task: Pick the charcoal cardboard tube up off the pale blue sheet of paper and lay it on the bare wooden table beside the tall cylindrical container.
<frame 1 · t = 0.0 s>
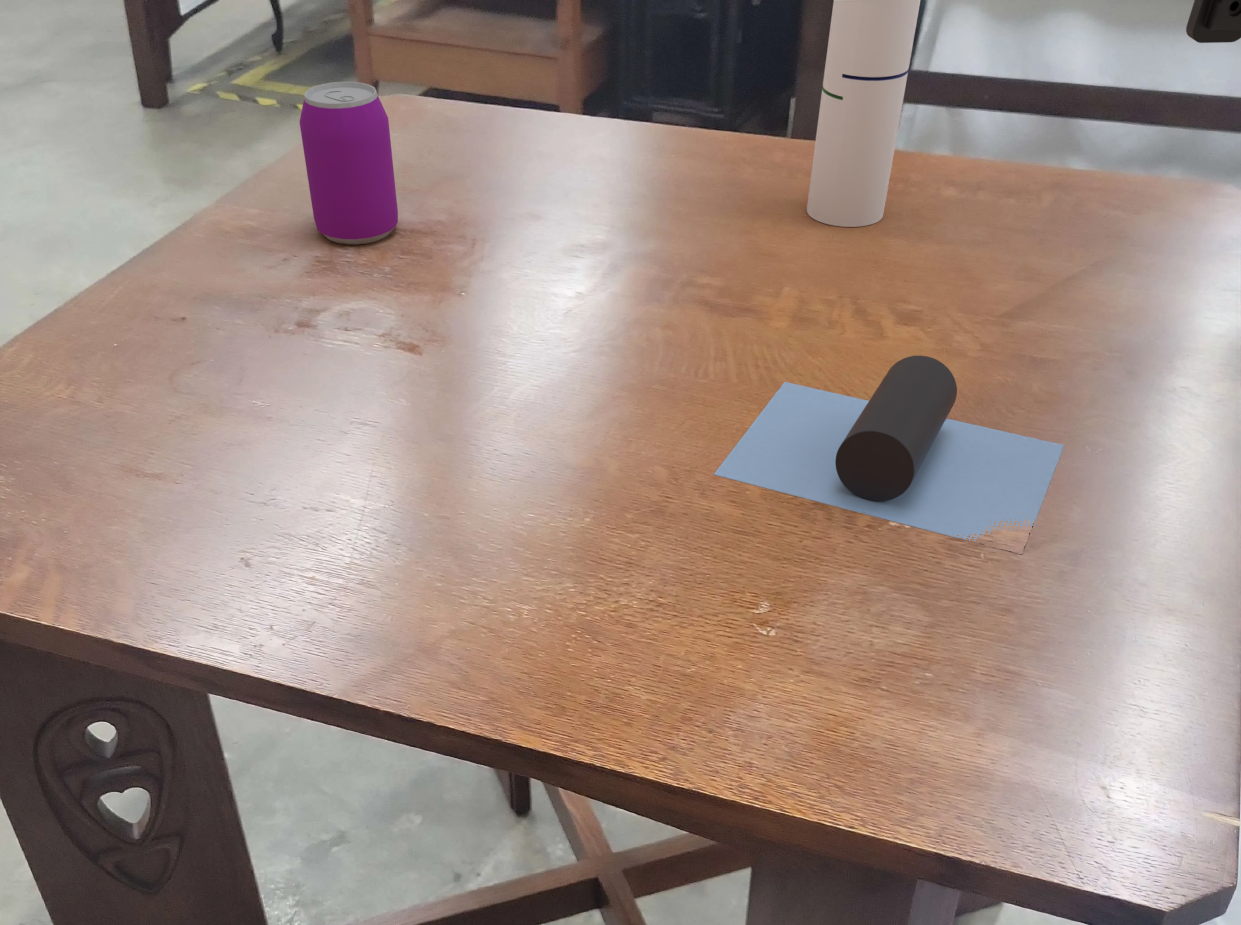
hand: (1170, 14, 52), 29 cm above the table, tool pointing down, fingers open, 8 cm apart
cylindrical container: (844, 214, 112), on the table
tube: (891, 459, 79), resting on paper
beverage can: (358, 233, 110), on the table
paper: (891, 461, 80), on the table
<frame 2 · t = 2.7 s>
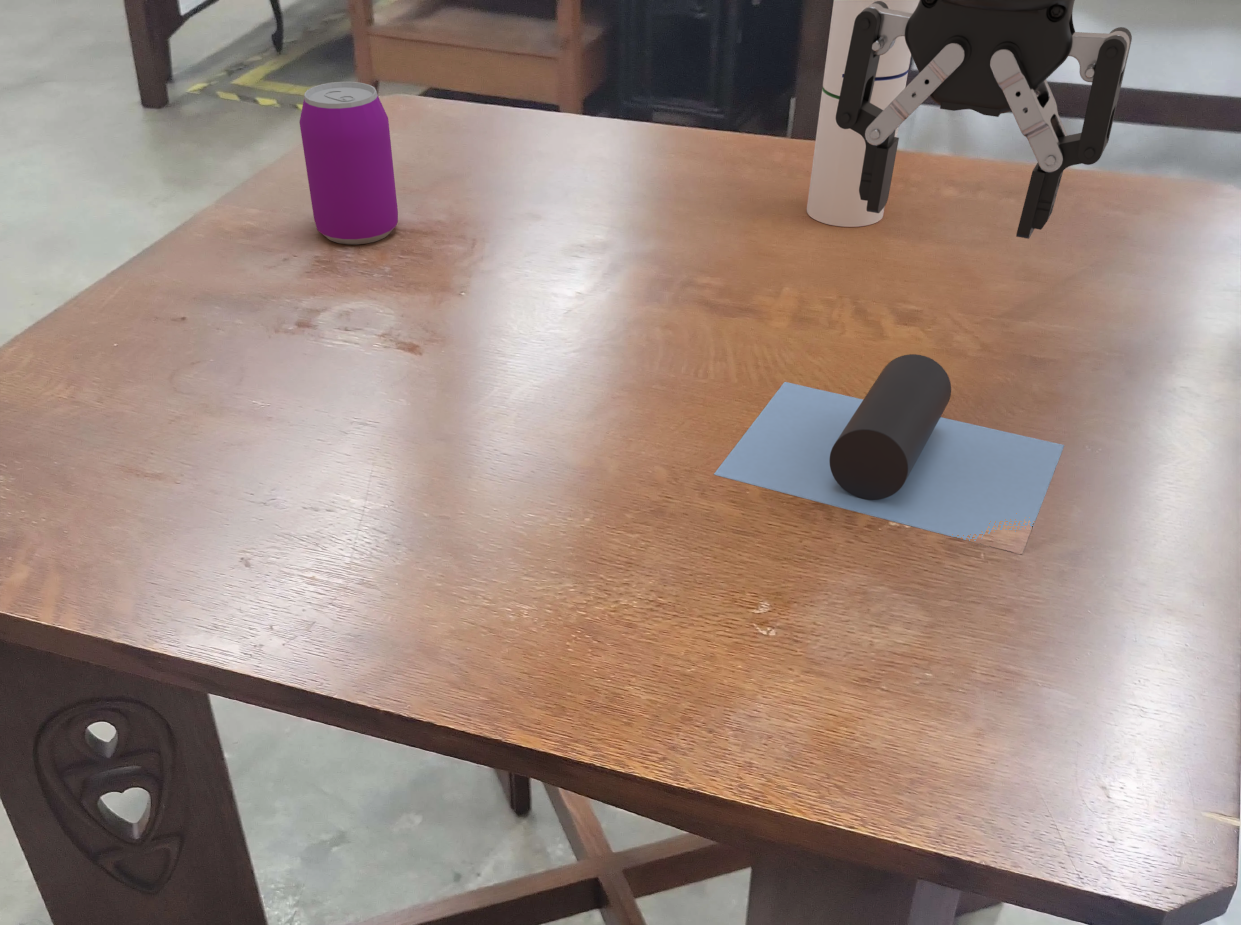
hand: (948, 220, 68), 16 cm above the table, tool pointing down, fingers open, 8 cm apart
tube: (891, 458, 79), resting on paper, tilted 9°
everything else where it was.
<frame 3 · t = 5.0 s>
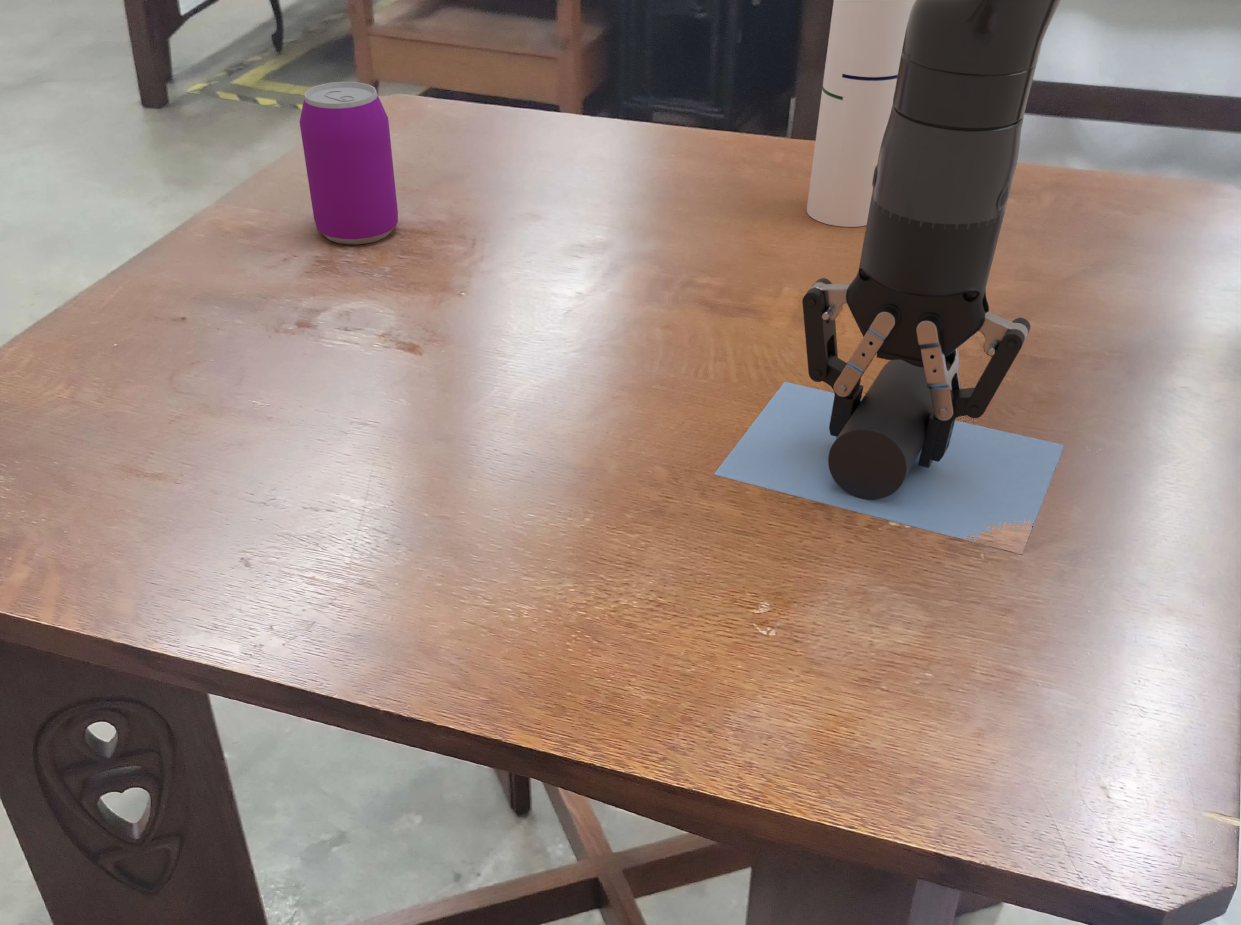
hand: (884, 449, 79), 1 cm above the table, tool pointing down, fingers closed on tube, 5 cm apart
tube: (892, 458, 79), resting on paper, tilted 12°, touching gripper
everything else where it was.
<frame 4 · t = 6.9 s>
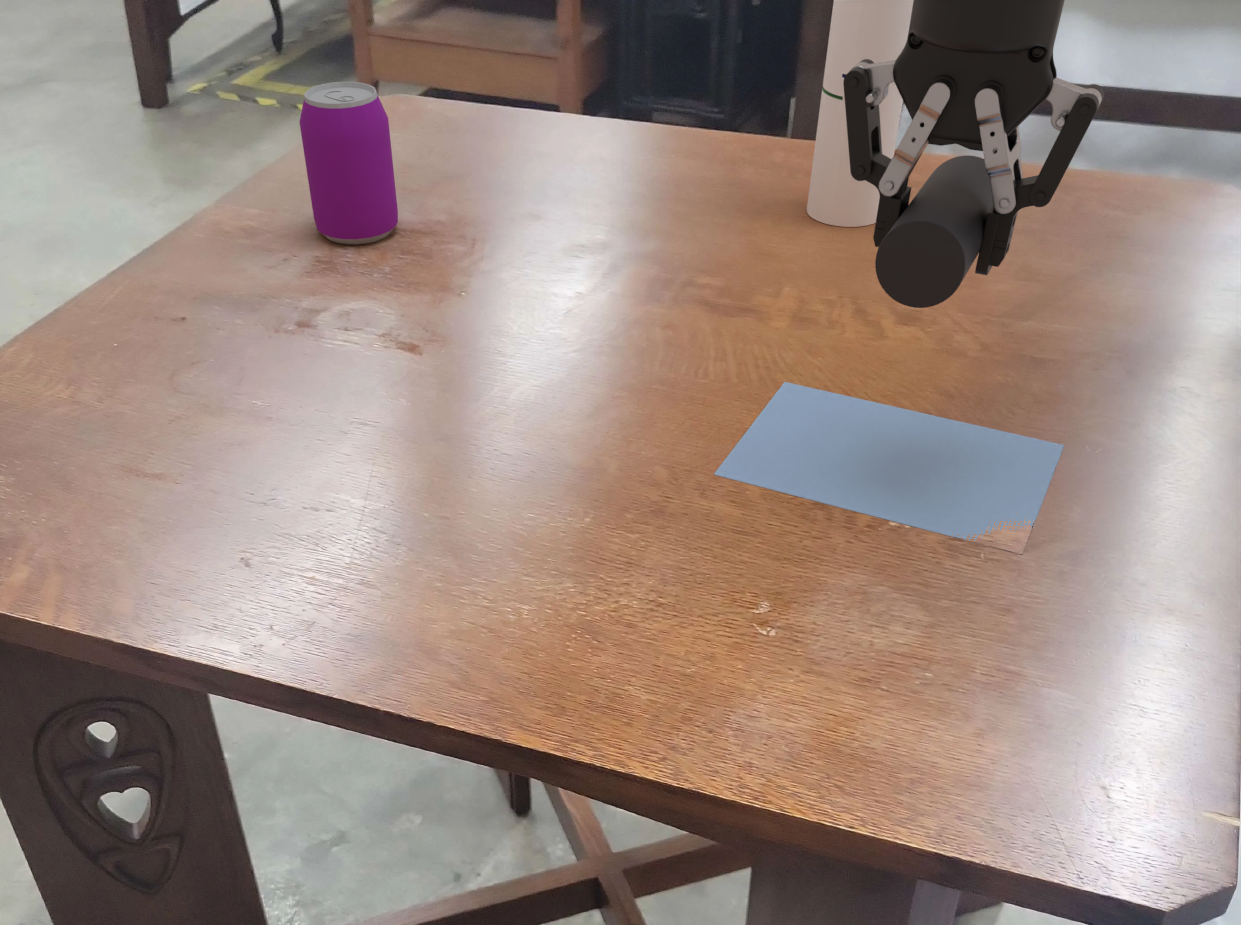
hand: (936, 260, 71), 14 cm above the table, tool pointing down, fingers closed on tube, 5 cm apart
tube: (944, 271, 71), point 13 cm above the table, tilted 13°, touching gripper
everything else where it was.
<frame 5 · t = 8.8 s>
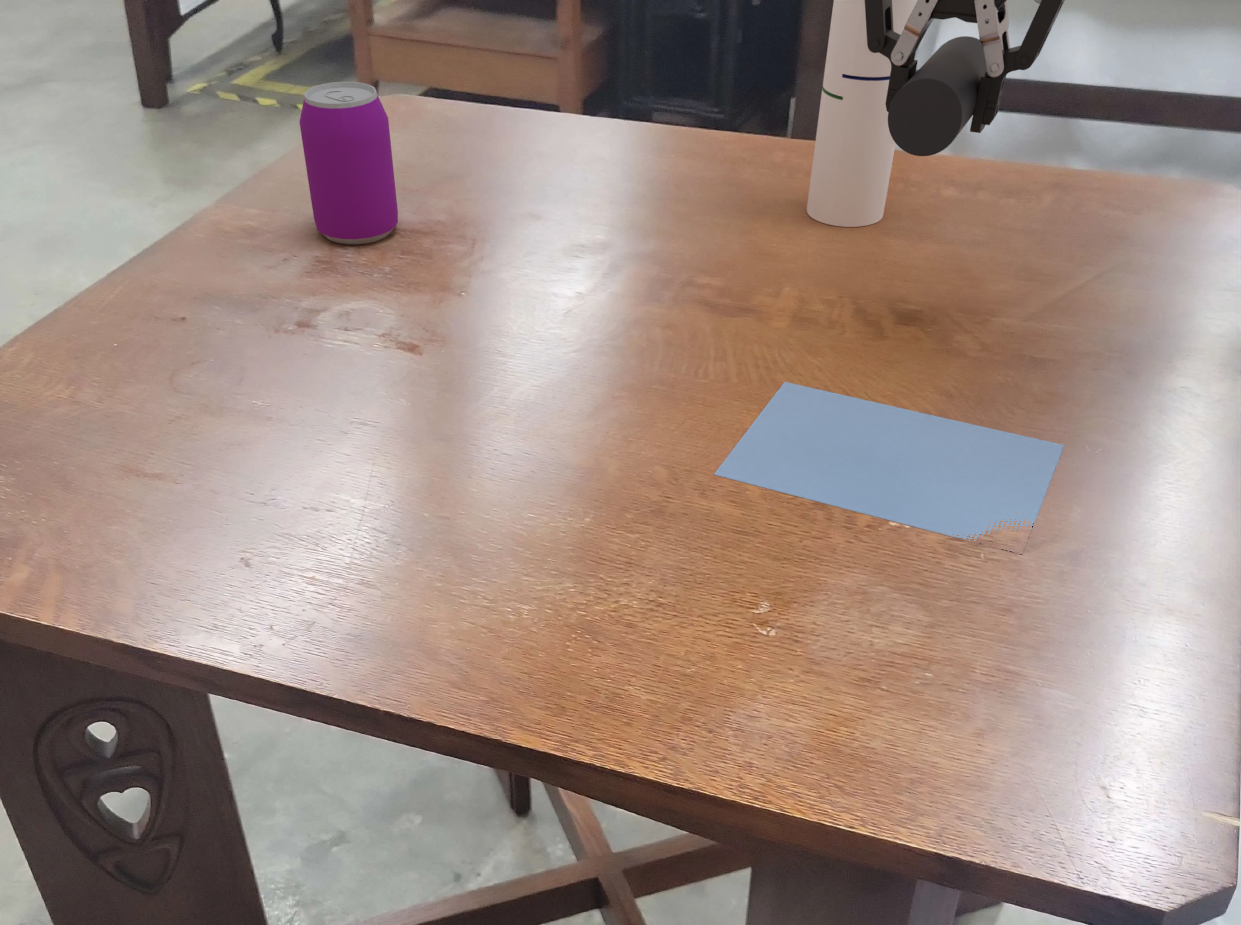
hand: (937, 123, 85), 15 cm above the table, tool pointing down, fingers closed on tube, 5 cm apart
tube: (944, 132, 85), point 14 cm above the table, tilted 13°, touching gripper
everything else where it was.
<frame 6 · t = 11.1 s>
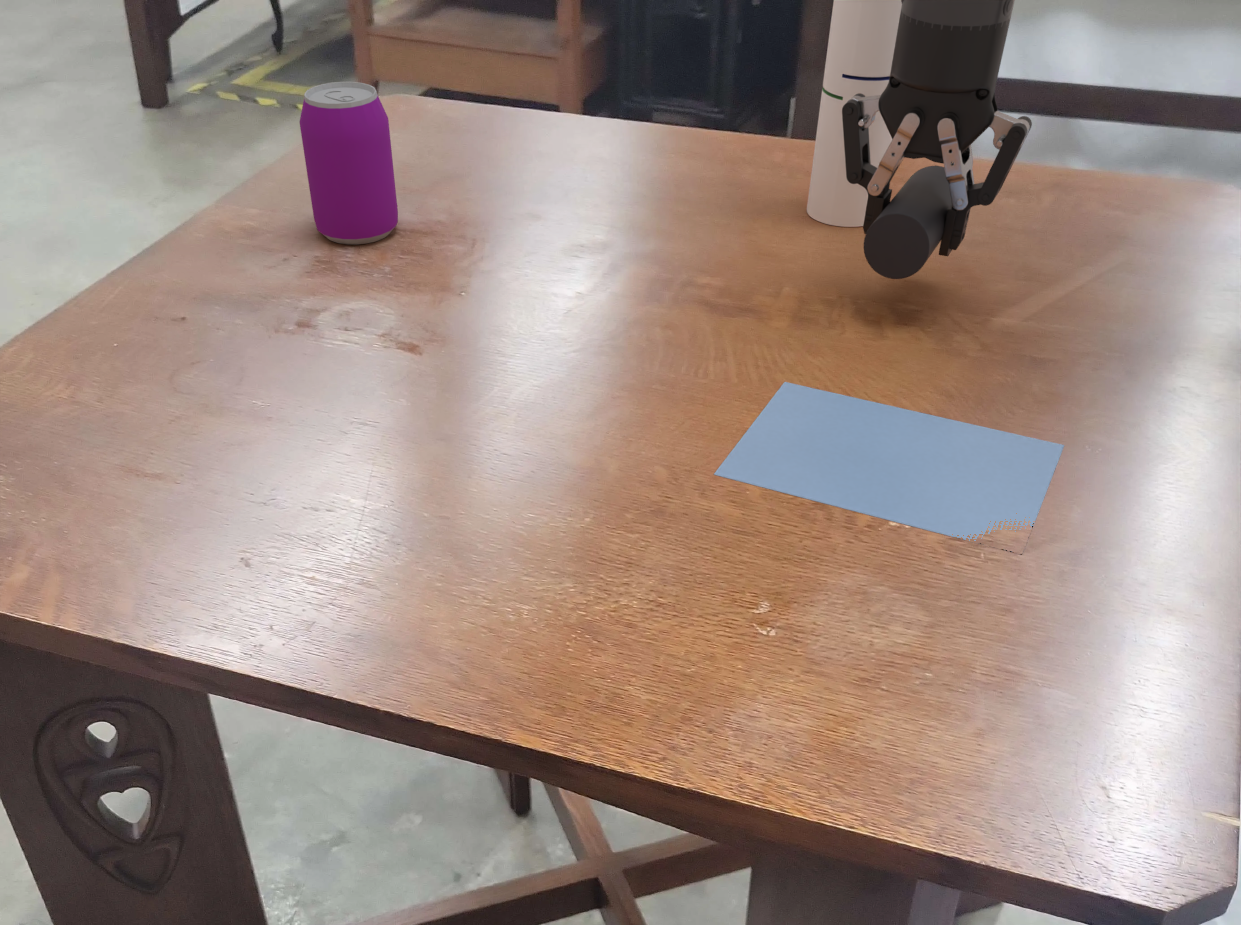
hand: (910, 245, 94), 5 cm above the table, tool pointing down, fingers closed on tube, 5 cm apart
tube: (916, 252, 94), point 4 cm above the table, tilted 12°, touching gripper
everything else where it was.
when the fingers open (1 cm above the table, at t = 12.7 s): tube stays where it is, on the table.
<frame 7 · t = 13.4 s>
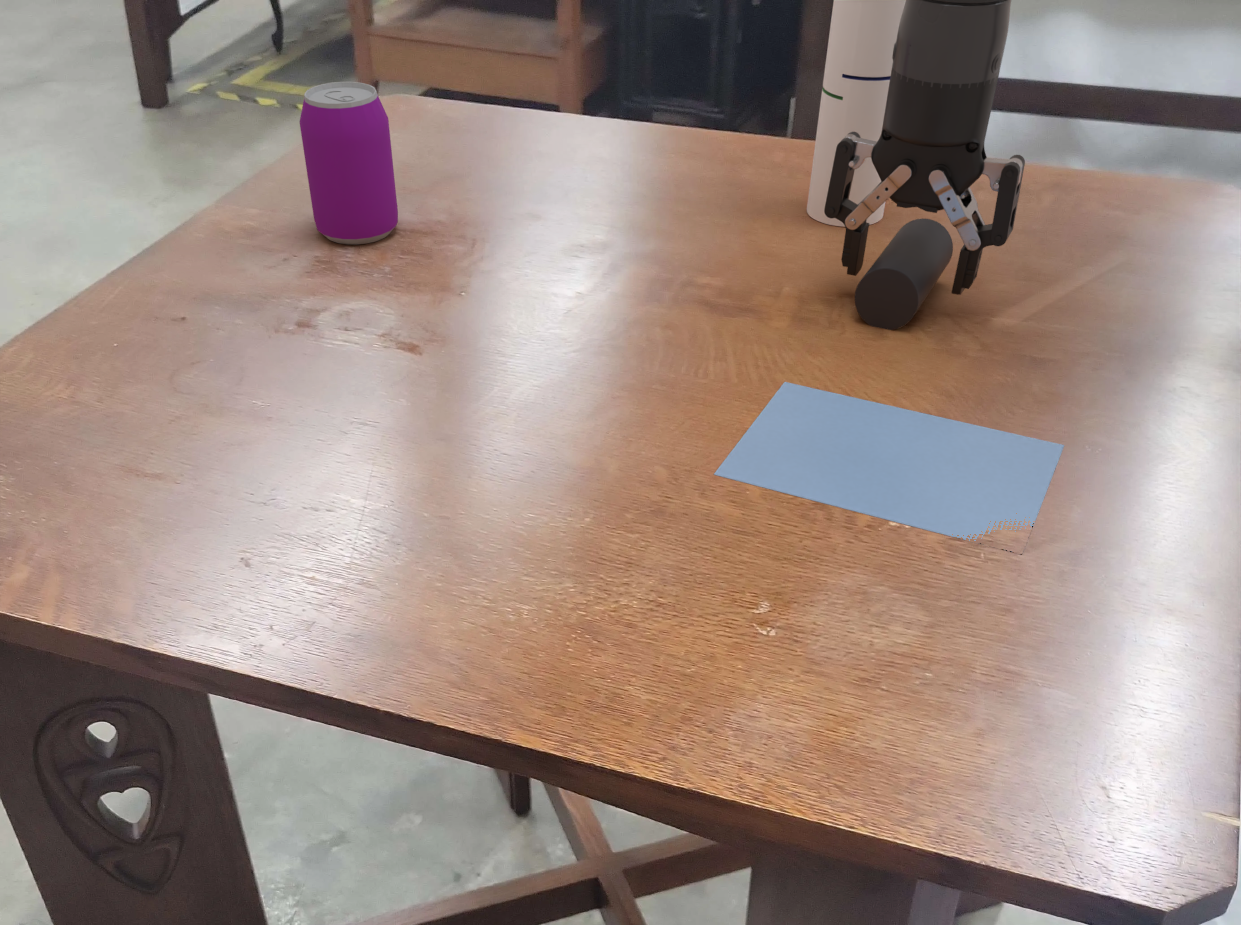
hand: (905, 281, 96), 2 cm above the table, tool pointing down, fingers open, 8 cm apart
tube: (906, 303, 97), on the table, tilted 14°
everything else where it was.
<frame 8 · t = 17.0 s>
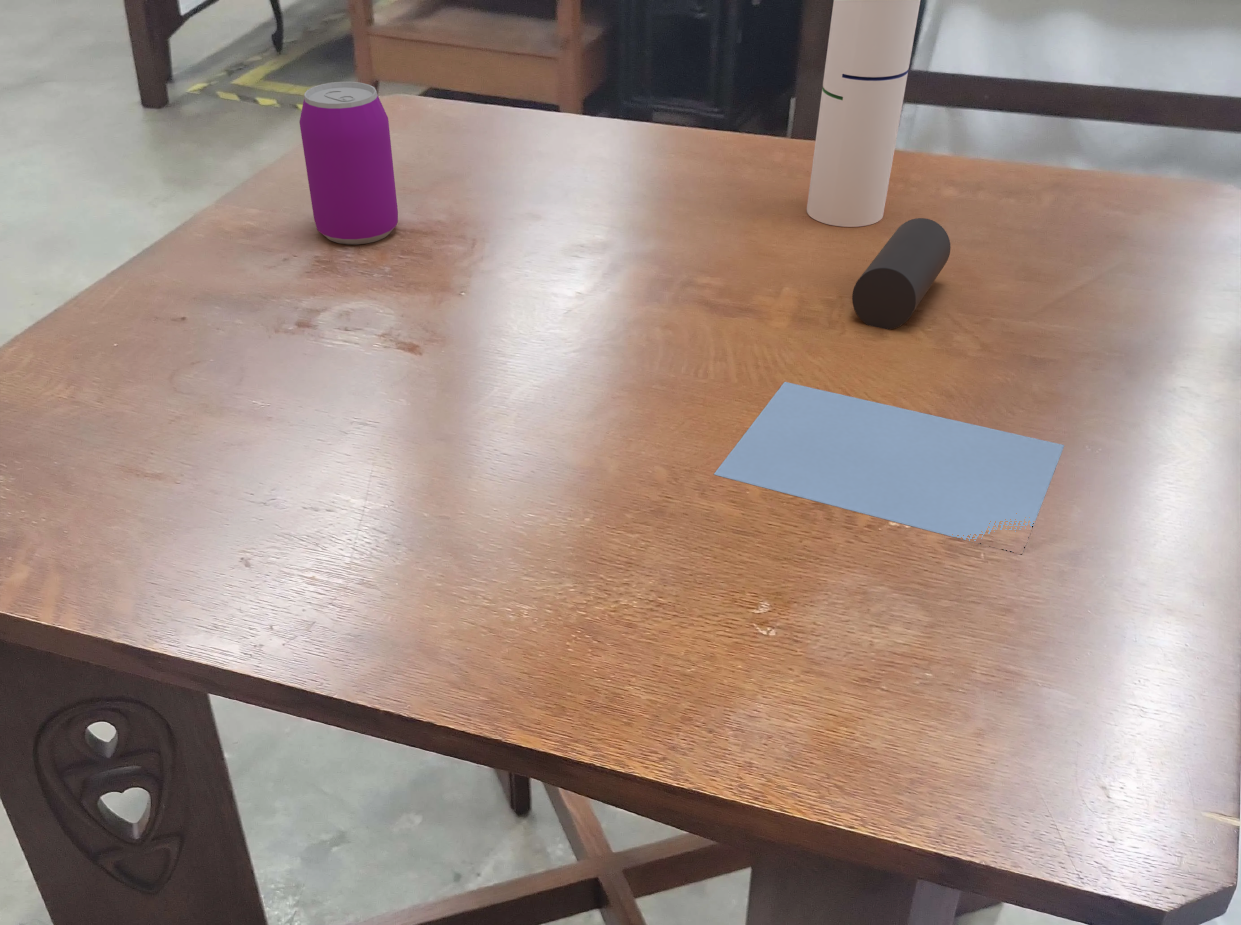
nothing on the table moved.
at the end: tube touching table; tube 19.8 cm from the cylindrical container (horizontally); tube on the table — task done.
